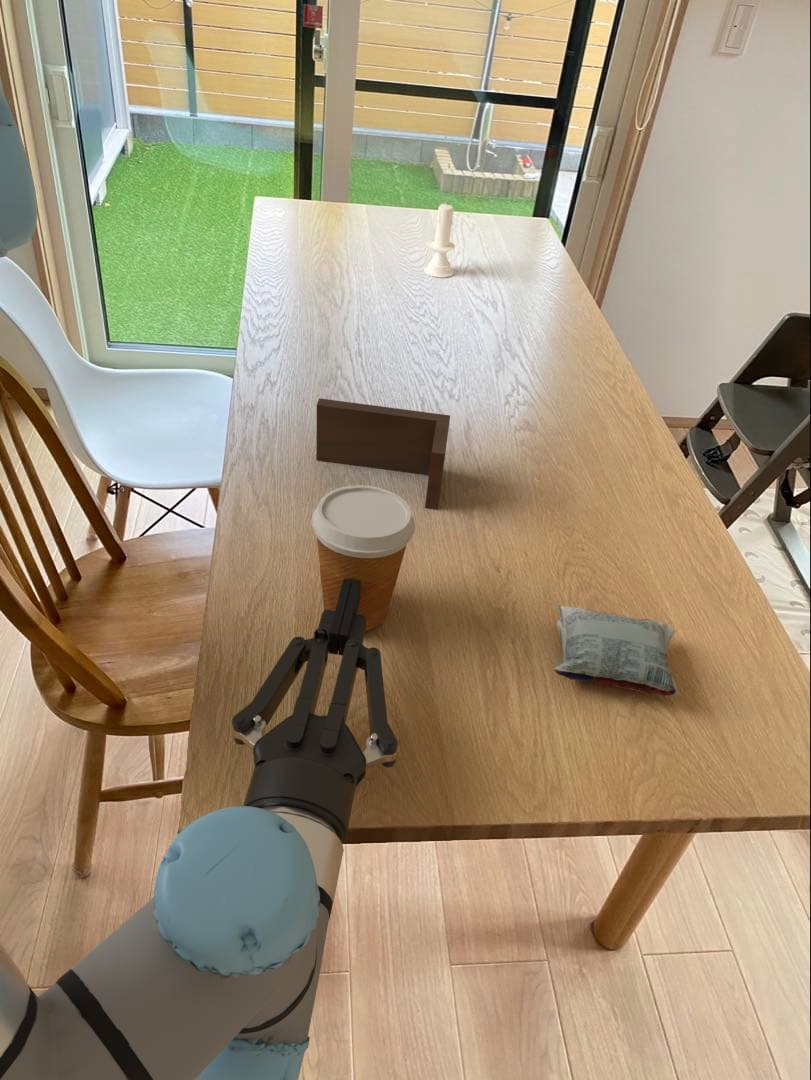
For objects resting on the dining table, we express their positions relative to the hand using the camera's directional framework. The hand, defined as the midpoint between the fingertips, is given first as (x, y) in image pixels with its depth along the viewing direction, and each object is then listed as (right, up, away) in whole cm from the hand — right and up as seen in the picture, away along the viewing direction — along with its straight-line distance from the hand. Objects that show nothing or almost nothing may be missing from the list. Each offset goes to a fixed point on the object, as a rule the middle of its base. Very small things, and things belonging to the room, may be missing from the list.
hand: (351, 590), depth 71 cm
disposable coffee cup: (0, -3, +7) cm, 7 cm away
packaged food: (+25, -7, +5) cm, 26 cm away
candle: (+11, +53, +69) cm, 87 cm away
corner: (+1, +12, +23) cm, 26 cm away
